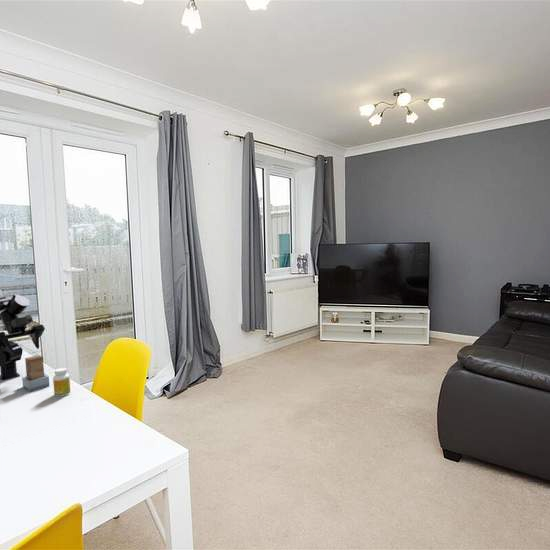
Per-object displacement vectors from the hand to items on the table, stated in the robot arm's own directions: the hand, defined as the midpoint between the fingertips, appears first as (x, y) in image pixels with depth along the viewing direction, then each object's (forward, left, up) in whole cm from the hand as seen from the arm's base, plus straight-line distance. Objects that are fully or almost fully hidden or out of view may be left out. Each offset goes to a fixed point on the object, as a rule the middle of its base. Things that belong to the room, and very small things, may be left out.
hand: (26, 351), depth 154 cm
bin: (+6, +1, -14) cm, 15 cm away
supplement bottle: (+23, +5, -14) cm, 27 cm away
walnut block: (+6, +1, -13) cm, 14 cm away
